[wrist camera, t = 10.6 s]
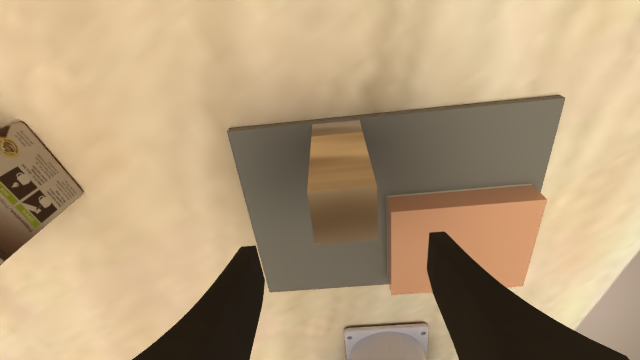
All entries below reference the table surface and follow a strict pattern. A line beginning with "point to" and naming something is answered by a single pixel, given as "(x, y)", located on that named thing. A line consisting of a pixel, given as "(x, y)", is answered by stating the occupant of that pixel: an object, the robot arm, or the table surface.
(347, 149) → the wooden block
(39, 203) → the coffee box
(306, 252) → the mat
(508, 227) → the tile
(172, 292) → the table surface
